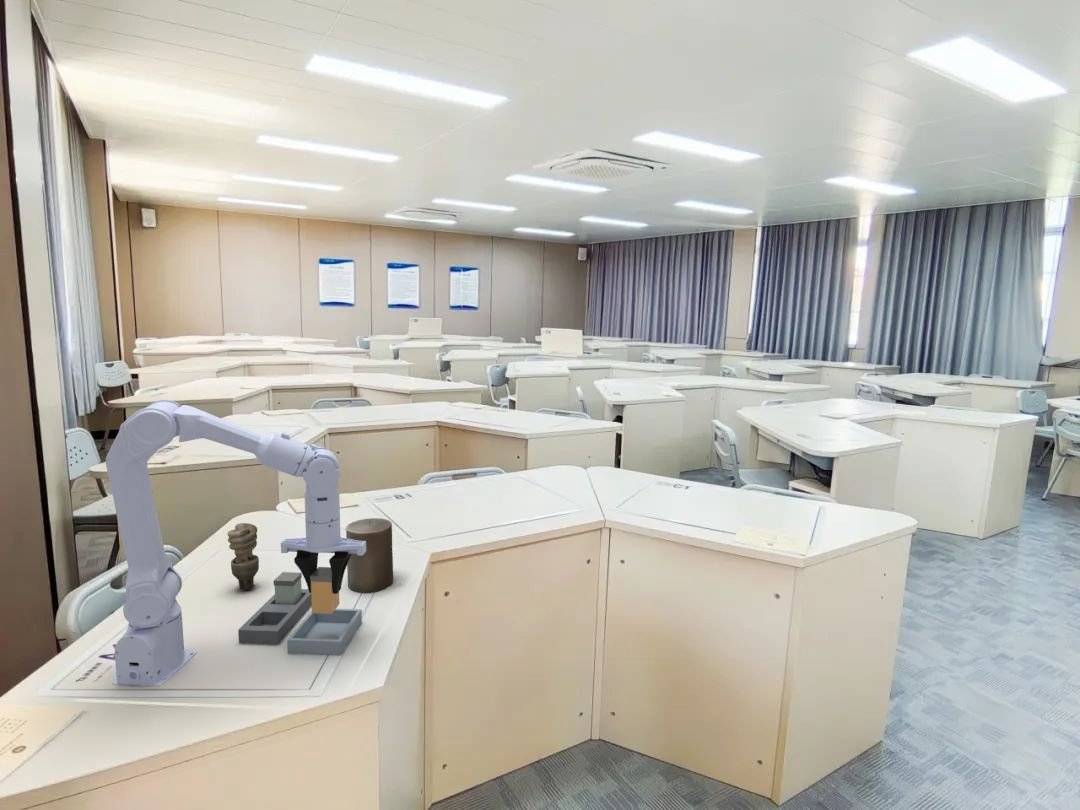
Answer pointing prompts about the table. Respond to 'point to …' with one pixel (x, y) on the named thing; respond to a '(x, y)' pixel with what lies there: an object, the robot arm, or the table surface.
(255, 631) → the block
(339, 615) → the parts tray
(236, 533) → the light bulb
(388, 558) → the pillar candle
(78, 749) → the table surface
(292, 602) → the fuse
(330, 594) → the block
